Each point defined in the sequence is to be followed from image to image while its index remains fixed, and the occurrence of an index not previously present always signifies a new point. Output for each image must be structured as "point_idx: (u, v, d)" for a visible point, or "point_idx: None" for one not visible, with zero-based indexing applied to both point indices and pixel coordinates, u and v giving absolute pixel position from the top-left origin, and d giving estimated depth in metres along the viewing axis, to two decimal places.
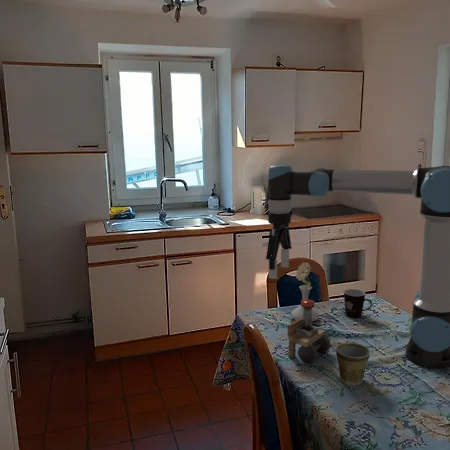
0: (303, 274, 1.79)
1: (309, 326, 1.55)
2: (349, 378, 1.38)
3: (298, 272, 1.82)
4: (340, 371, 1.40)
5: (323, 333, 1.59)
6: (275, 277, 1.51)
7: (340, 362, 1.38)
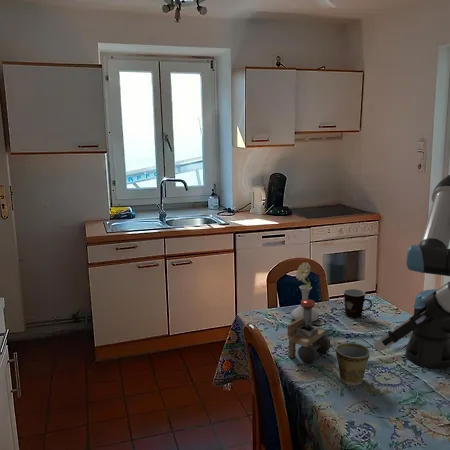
0: (303, 274, 1.79)
1: (309, 326, 1.55)
2: (349, 379, 1.38)
3: (298, 272, 1.82)
4: (340, 371, 1.40)
5: (323, 333, 1.59)
6: None
7: (340, 362, 1.38)
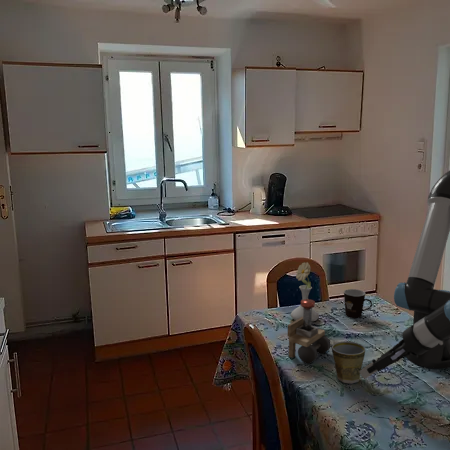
0: (303, 274, 1.79)
1: (309, 326, 1.55)
2: (346, 376, 1.39)
3: (298, 272, 1.82)
4: (337, 369, 1.41)
5: (323, 333, 1.59)
6: None
7: (336, 360, 1.39)
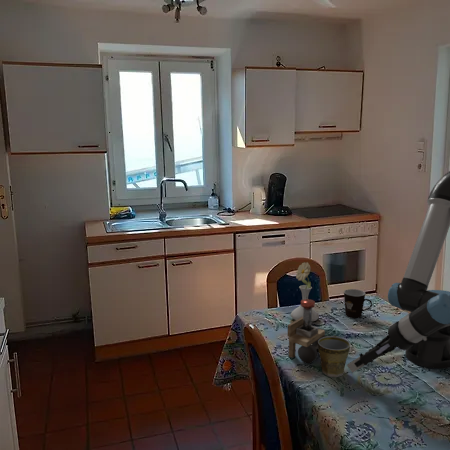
0: (303, 274, 1.79)
1: (309, 326, 1.55)
2: (331, 370, 1.43)
3: (298, 272, 1.82)
4: (322, 363, 1.45)
5: (323, 333, 1.59)
6: None
7: (322, 355, 1.43)
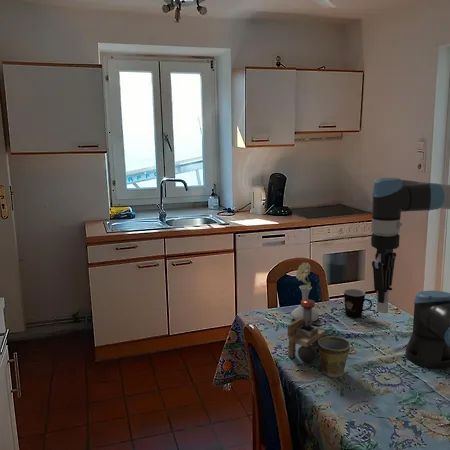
0: (303, 274, 1.79)
1: (309, 326, 1.55)
2: (331, 371, 1.43)
3: (298, 272, 1.82)
4: (322, 364, 1.45)
5: (323, 333, 1.59)
6: None
7: (322, 355, 1.43)
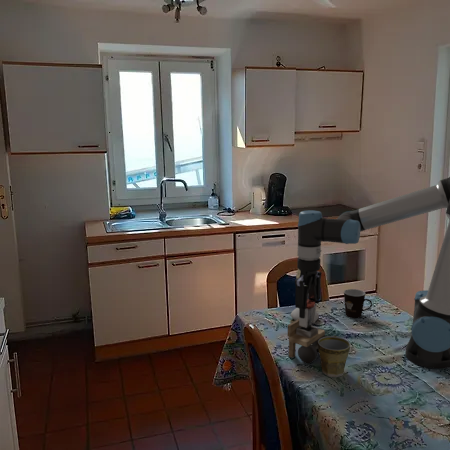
0: None
1: (309, 326, 1.55)
2: (331, 371, 1.43)
3: (298, 272, 1.82)
4: (322, 364, 1.45)
5: (323, 333, 1.59)
6: None
7: (322, 355, 1.43)
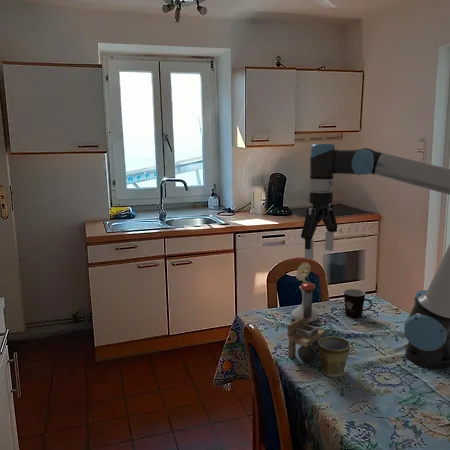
0: (303, 274, 1.79)
1: (309, 309, 1.54)
2: (331, 371, 1.43)
3: (298, 272, 1.82)
4: (322, 364, 1.45)
5: (323, 333, 1.59)
6: None
7: (322, 355, 1.43)
